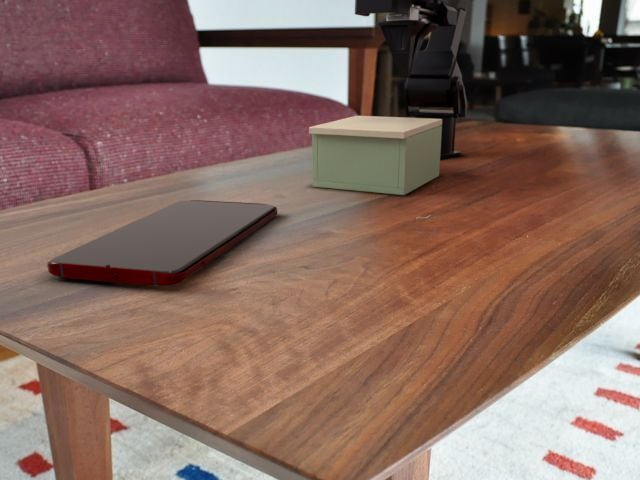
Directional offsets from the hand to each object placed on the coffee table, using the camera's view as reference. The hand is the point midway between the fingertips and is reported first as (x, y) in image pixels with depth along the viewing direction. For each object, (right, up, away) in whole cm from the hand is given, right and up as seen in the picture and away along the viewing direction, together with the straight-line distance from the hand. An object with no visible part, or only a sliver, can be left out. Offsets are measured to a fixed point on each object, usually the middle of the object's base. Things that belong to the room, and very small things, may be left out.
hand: (404, 77), depth 92 cm
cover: (-4, -8, -5) cm, 11 cm away
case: (-4, -15, -3) cm, 15 cm away
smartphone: (-26, -25, -29) cm, 46 cm away
